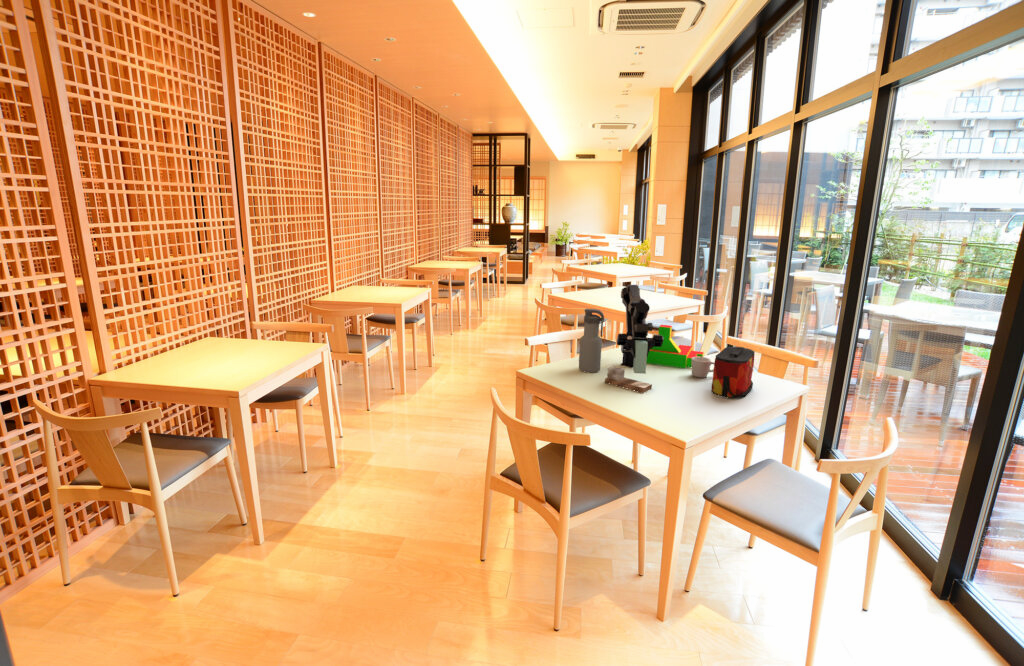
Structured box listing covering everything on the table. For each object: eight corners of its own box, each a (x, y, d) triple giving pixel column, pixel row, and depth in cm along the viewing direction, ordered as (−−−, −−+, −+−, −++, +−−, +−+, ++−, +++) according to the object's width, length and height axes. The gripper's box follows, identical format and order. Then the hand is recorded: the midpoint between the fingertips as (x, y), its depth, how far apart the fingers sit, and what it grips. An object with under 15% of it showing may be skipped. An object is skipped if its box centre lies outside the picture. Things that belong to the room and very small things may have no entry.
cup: (712, 374, 237) (714, 357, 235) (717, 379, 229) (719, 362, 228) (688, 373, 238) (689, 356, 236) (692, 378, 230) (693, 361, 229)
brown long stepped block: (604, 382, 223) (605, 369, 221) (613, 379, 228) (614, 365, 226) (643, 393, 211) (644, 378, 209) (651, 389, 216) (652, 375, 214)
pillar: (633, 370, 223) (635, 340, 220) (643, 370, 223) (646, 340, 220) (634, 373, 219) (636, 342, 216) (645, 373, 219) (647, 343, 216)
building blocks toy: (698, 370, 243) (702, 332, 239) (644, 363, 254) (647, 326, 249) (703, 360, 260) (707, 324, 255) (652, 354, 270) (654, 319, 266)
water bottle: (600, 367, 244) (604, 308, 238) (601, 373, 235) (604, 312, 228) (578, 366, 246) (581, 307, 239) (578, 372, 236) (581, 311, 230)
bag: (724, 376, 234) (728, 340, 230) (758, 382, 226) (762, 345, 223) (706, 395, 210) (710, 355, 206) (742, 402, 202) (747, 361, 199)
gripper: (619, 314, 220) (620, 346, 212) (664, 316, 219) (667, 348, 211) (616, 329, 230) (617, 360, 222) (659, 330, 228) (662, 362, 220)
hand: (640, 357), depth 218 cm, fingers closed on pillar, 4 cm apart
